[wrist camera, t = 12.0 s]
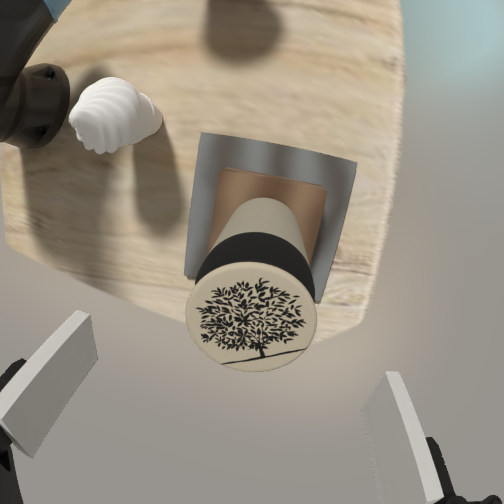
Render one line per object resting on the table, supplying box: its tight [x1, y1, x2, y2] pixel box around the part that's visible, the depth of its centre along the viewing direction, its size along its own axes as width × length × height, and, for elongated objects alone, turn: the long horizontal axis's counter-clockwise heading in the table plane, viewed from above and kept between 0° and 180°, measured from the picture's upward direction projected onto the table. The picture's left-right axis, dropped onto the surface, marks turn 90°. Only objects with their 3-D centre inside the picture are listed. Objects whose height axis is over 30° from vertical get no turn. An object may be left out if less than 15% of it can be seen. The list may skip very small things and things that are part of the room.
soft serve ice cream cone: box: [69, 77, 162, 154], centre depth 27 cm, size 8×8×16 cm
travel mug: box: [186, 198, 317, 372], centre depth 24 cm, size 8×8×18 cm
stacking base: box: [184, 132, 357, 301], centre depth 35 cm, size 20×20×6 cm
